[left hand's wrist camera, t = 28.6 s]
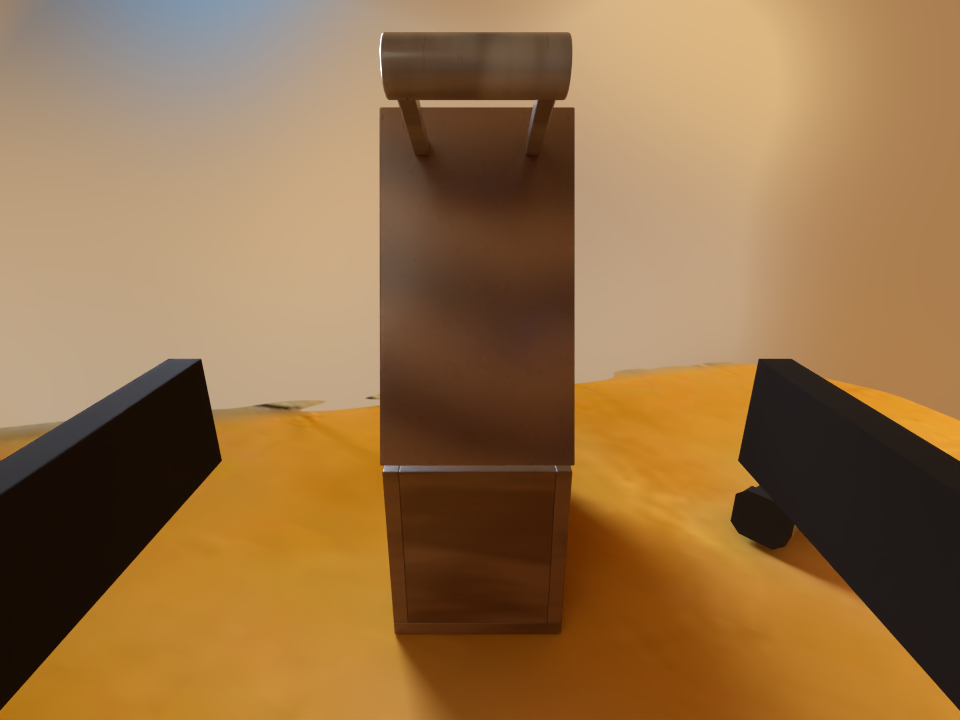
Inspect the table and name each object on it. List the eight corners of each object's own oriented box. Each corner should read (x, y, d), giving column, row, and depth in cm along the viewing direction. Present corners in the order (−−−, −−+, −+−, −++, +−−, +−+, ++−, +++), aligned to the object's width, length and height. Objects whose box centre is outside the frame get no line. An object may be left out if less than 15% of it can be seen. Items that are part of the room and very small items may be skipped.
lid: (382, 115, 26) (331, -13, 17) (571, 114, 26) (620, -12, 17) (382, 462, 26) (333, 516, 17) (571, 462, 26) (619, 516, 17)
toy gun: (1276, 705, 21) (1227, 542, 30) (680, 456, 39) (763, 402, 48) (1222, 779, 22) (1191, 601, 31) (673, 505, 41) (754, 444, 50)
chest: (424, 472, 45) (418, 357, 41) (532, 472, 45) (537, 357, 41) (394, 634, 29) (382, 472, 26) (560, 633, 29) (572, 471, 26)
